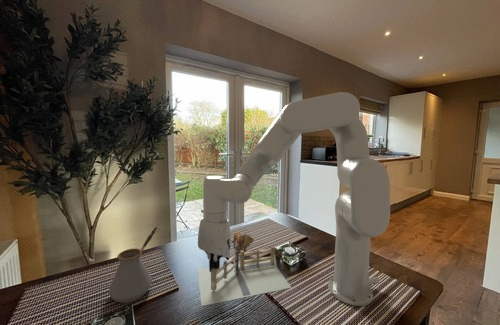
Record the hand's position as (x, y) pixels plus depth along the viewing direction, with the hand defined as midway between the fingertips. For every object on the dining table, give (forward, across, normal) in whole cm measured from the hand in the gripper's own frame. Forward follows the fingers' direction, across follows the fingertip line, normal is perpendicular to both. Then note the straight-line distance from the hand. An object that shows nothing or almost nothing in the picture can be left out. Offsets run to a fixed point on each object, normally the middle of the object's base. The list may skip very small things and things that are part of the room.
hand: (214, 270), depth 69 cm
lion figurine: (+5, -3, +24) cm, 24 cm away
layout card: (+5, +6, +7) cm, 10 cm away
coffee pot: (+6, -21, -11) cm, 25 cm away
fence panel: (+4, +2, +4) cm, 6 cm away
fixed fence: (+4, +8, +15) cm, 18 cm away
